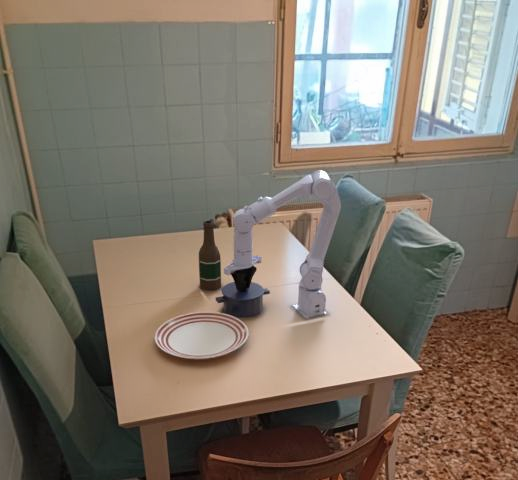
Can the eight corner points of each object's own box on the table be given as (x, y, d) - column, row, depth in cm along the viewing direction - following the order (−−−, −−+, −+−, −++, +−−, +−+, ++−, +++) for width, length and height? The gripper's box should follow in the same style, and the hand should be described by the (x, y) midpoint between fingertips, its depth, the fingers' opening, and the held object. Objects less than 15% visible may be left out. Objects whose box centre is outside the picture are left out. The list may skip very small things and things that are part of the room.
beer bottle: (218, 293, 196) (216, 226, 183) (196, 291, 197) (193, 224, 185) (224, 284, 202) (222, 219, 190) (203, 282, 204) (200, 217, 191)
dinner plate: (143, 362, 158) (141, 352, 156) (169, 316, 181) (168, 307, 179) (240, 371, 155) (240, 361, 153) (254, 323, 178) (254, 314, 176)
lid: (270, 298, 180) (271, 284, 177) (231, 305, 175) (230, 291, 172) (253, 281, 190) (253, 268, 188) (215, 288, 185) (215, 274, 183)
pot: (276, 313, 184) (276, 295, 181) (224, 323, 178) (223, 305, 174) (260, 297, 194) (260, 280, 190) (210, 306, 187) (209, 289, 184)
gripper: (250, 239, 181) (250, 278, 189) (216, 251, 173) (217, 291, 180) (266, 245, 177) (265, 285, 184) (232, 258, 168) (232, 299, 175)
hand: (243, 289), depth 182 cm, fingers closed on lid, 2 cm apart
